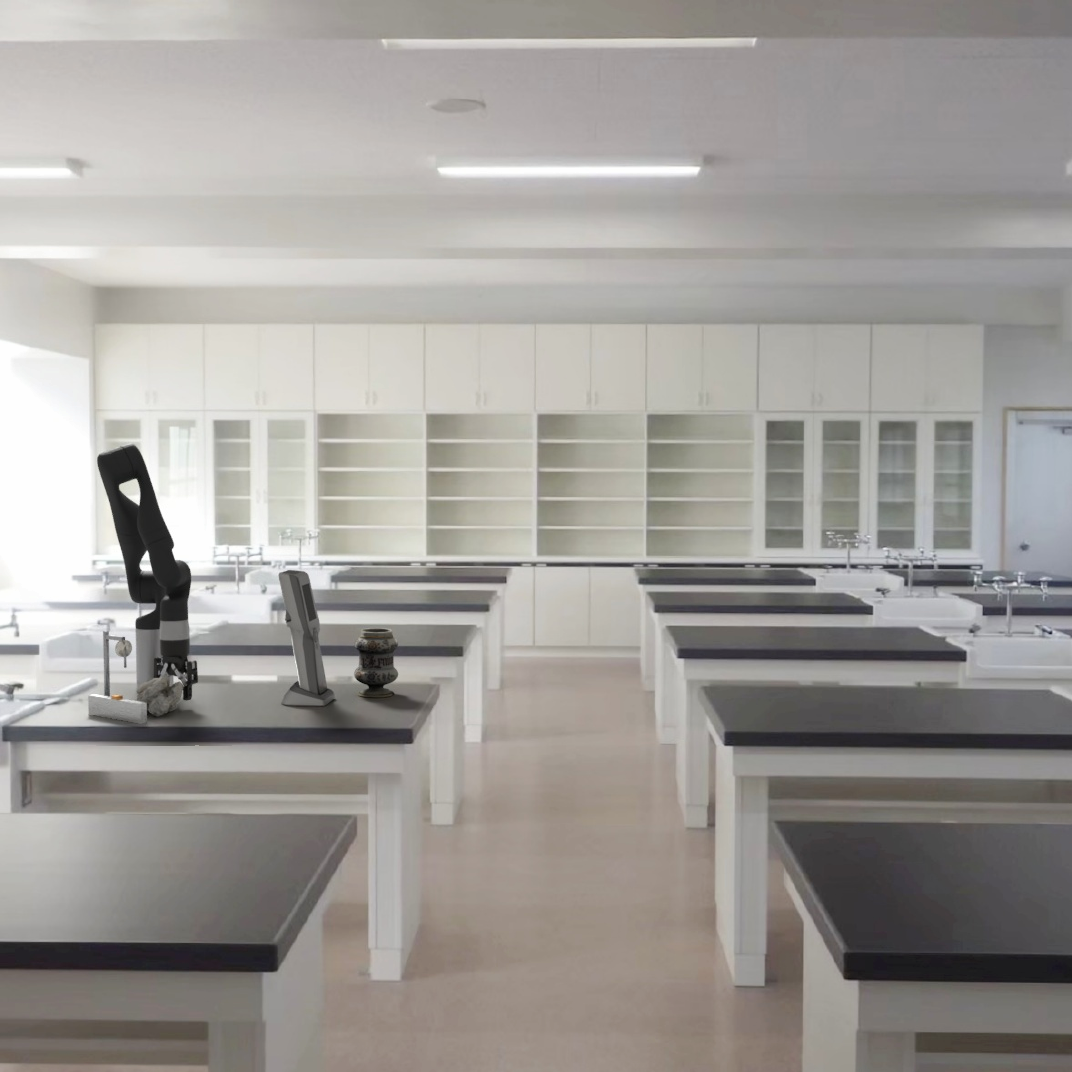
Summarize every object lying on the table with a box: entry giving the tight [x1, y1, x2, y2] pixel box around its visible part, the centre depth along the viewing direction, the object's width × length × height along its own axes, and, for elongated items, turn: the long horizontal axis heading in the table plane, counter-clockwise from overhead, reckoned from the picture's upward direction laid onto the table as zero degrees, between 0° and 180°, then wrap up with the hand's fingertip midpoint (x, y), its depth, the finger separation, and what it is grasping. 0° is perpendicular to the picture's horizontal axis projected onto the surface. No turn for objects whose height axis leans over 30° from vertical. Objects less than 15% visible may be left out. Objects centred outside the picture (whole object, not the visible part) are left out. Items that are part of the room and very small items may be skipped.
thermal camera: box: [278, 569, 336, 707], centre depth 337 cm, size 12×13×35 cm
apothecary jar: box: [353, 627, 399, 699], centre depth 348 cm, size 12×12×18 cm
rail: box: [87, 693, 148, 725], centre depth 316 cm, size 2×20×6 cm, turn 57°
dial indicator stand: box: [102, 630, 133, 697], centre depth 332 cm, size 6×11×20 cm, turn 57°
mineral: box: [135, 676, 184, 717], centre depth 324 cm, size 12×17×10 cm
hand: (176, 698), depth 332 cm, fingers open, 8 cm apart
